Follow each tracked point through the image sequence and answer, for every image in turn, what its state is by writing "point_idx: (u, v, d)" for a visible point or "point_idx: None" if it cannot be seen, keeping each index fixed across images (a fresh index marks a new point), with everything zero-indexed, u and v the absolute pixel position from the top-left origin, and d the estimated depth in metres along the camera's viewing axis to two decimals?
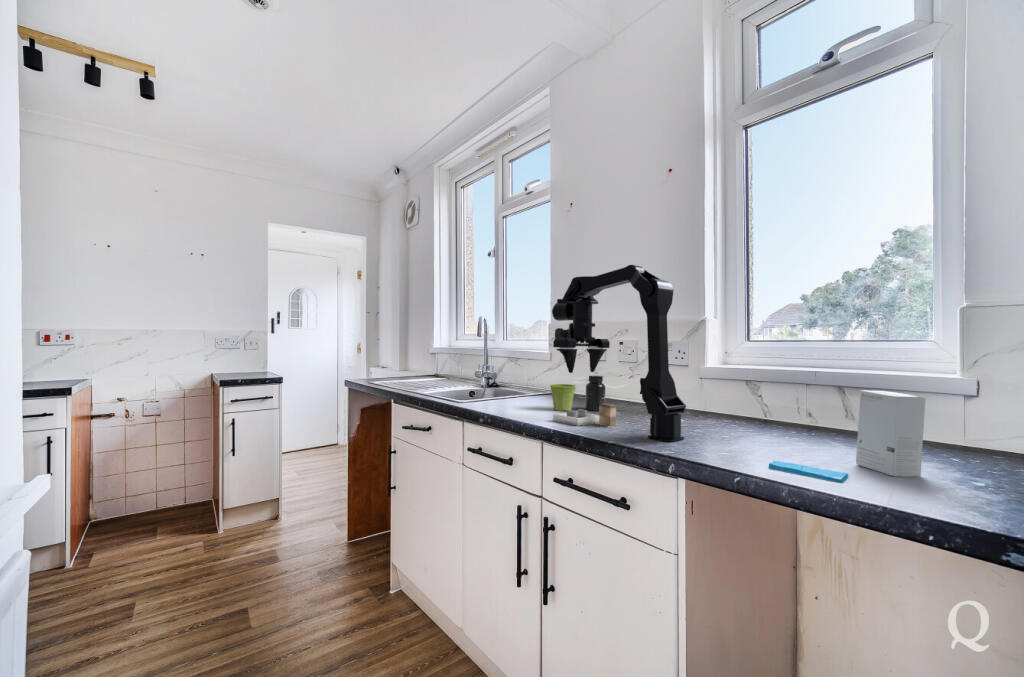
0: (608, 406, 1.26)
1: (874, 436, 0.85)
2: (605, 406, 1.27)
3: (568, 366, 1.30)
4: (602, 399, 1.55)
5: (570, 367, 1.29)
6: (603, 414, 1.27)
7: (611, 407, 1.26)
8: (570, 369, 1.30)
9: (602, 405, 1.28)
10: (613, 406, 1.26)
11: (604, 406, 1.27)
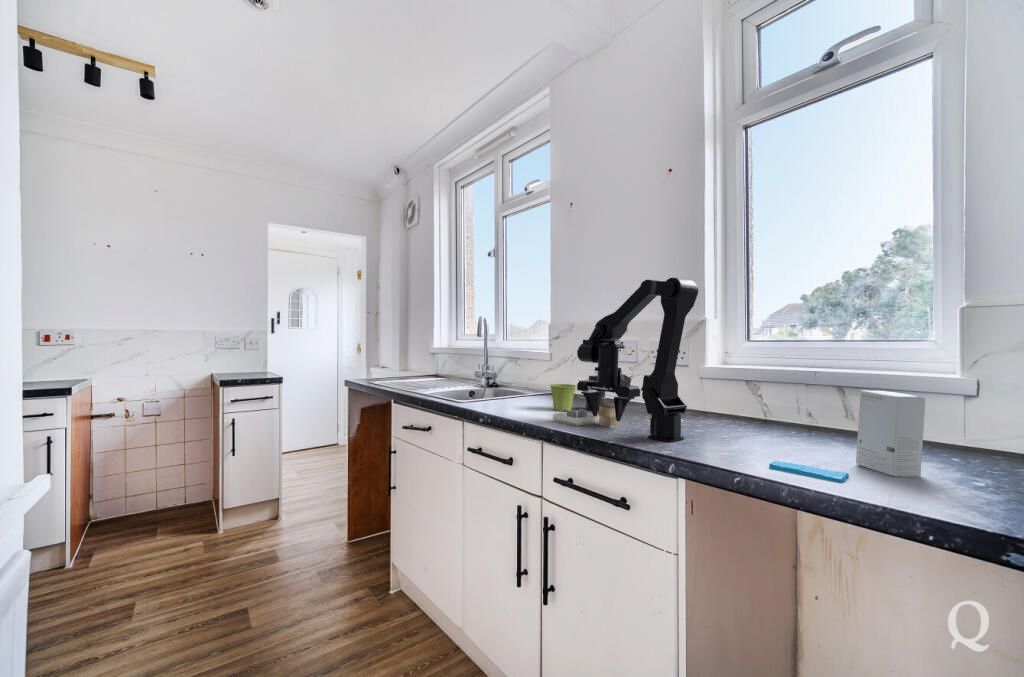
0: (608, 406, 1.26)
1: (874, 436, 0.85)
2: (605, 406, 1.27)
3: None
4: (602, 399, 1.55)
5: None
6: (603, 414, 1.27)
7: (611, 407, 1.26)
8: None
9: (602, 405, 1.28)
10: (613, 406, 1.26)
11: (604, 406, 1.27)
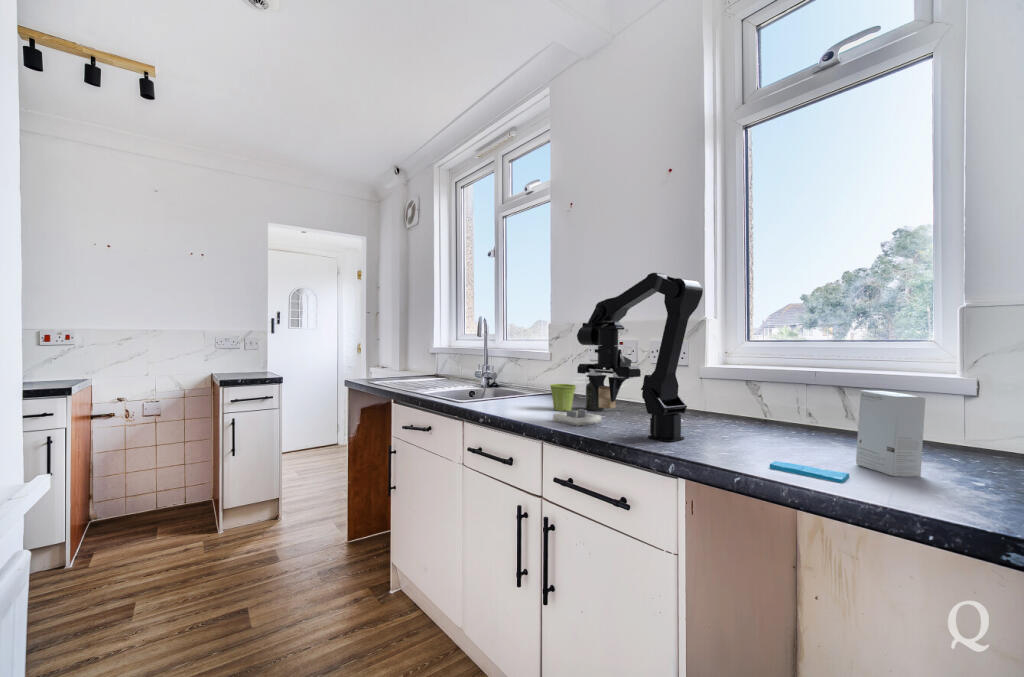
0: (607, 387, 1.26)
1: (874, 436, 0.85)
2: (604, 388, 1.27)
3: None
4: None
5: None
6: (603, 396, 1.27)
7: None
8: None
9: (601, 387, 1.28)
10: None
11: (603, 388, 1.27)
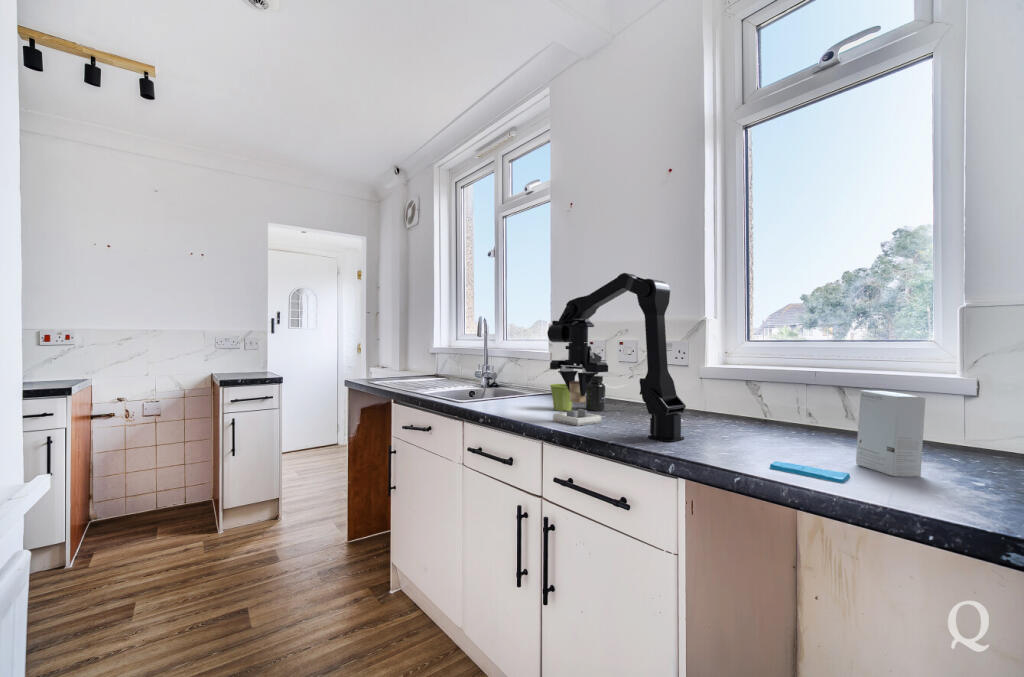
0: (577, 382, 1.31)
1: (874, 436, 0.85)
2: (575, 383, 1.32)
3: None
4: (602, 399, 1.55)
5: None
6: (573, 390, 1.32)
7: None
8: None
9: (572, 382, 1.33)
10: None
11: (574, 383, 1.32)
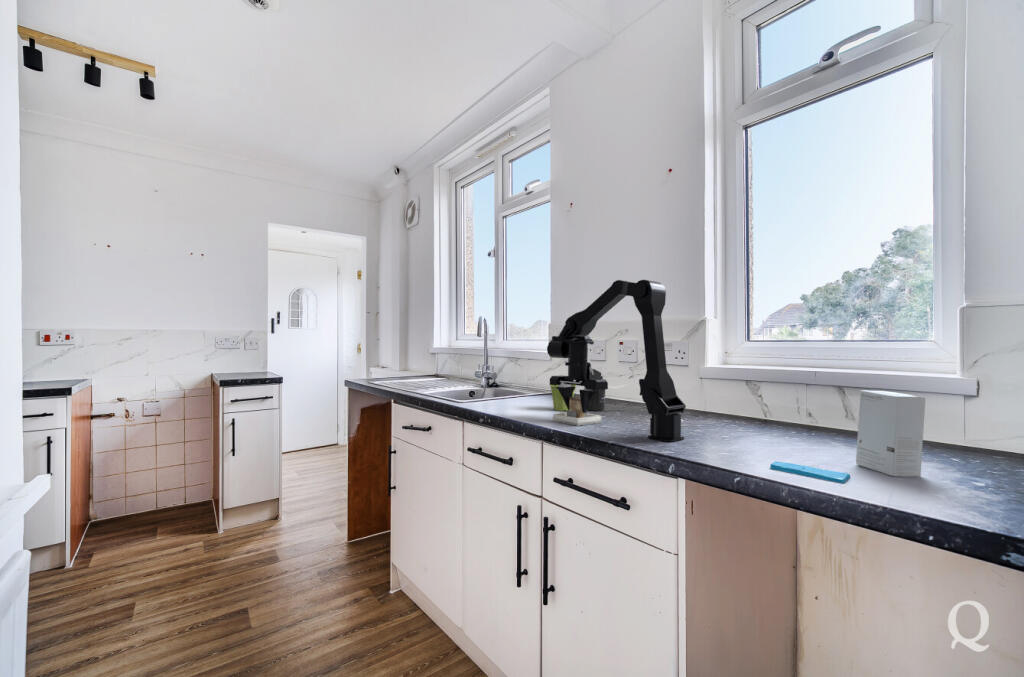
0: (577, 399, 1.31)
1: (874, 436, 0.85)
2: (575, 399, 1.32)
3: None
4: (602, 399, 1.55)
5: None
6: (573, 407, 1.32)
7: (580, 400, 1.31)
8: None
9: (572, 398, 1.33)
10: None
11: (574, 399, 1.32)
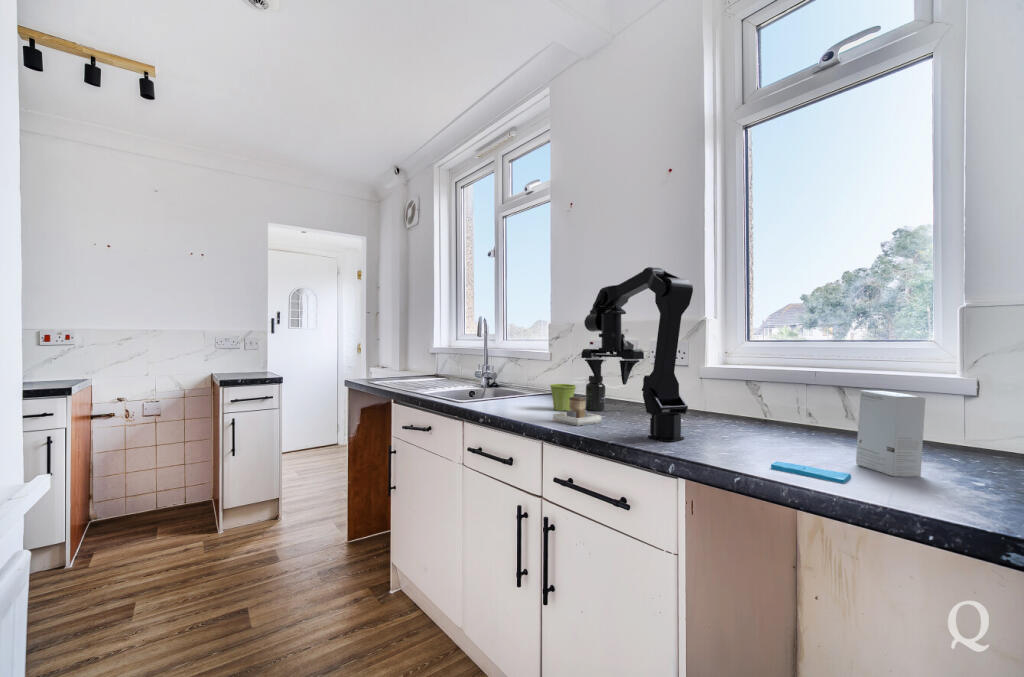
0: (577, 399, 1.31)
1: (874, 436, 0.85)
2: (575, 399, 1.32)
3: None
4: (602, 399, 1.55)
5: None
6: (573, 407, 1.32)
7: (580, 400, 1.31)
8: None
9: (572, 398, 1.33)
10: (582, 399, 1.31)
11: (574, 399, 1.32)
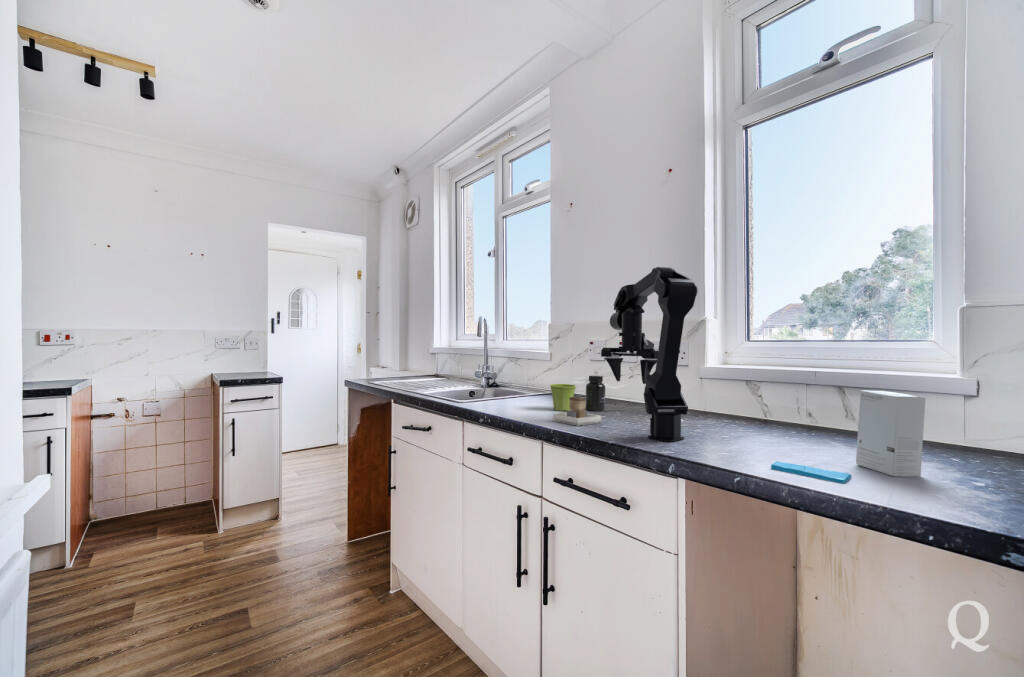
0: (577, 399, 1.31)
1: (874, 436, 0.85)
2: (575, 399, 1.32)
3: None
4: (602, 399, 1.55)
5: None
6: (573, 407, 1.32)
7: (580, 400, 1.31)
8: None
9: (572, 398, 1.33)
10: (582, 399, 1.31)
11: (574, 399, 1.32)
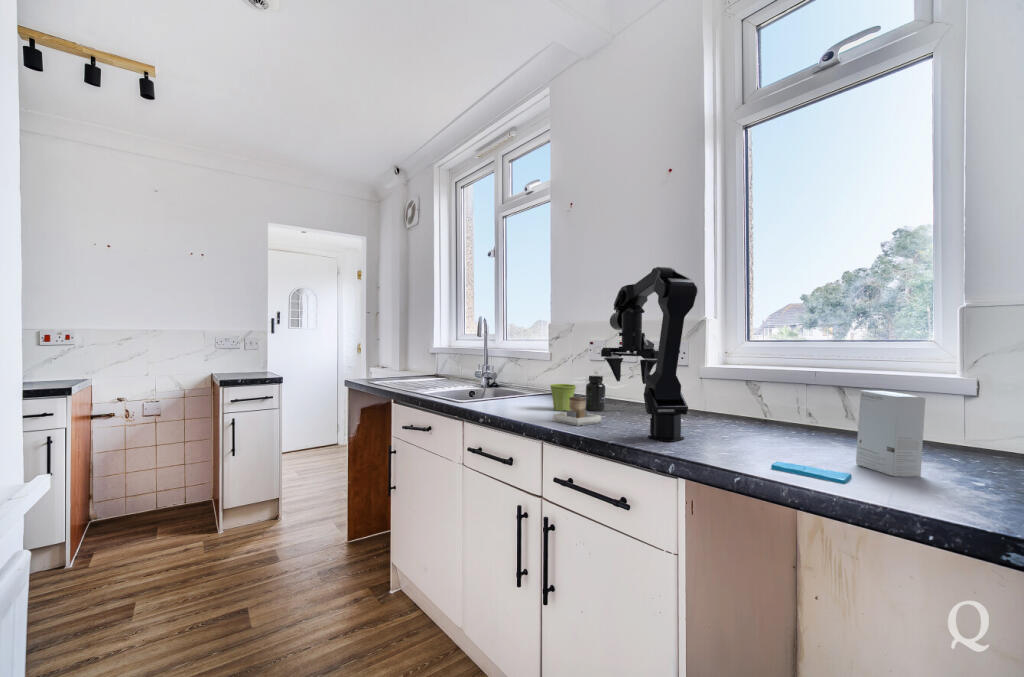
0: (577, 399, 1.31)
1: (874, 436, 0.85)
2: (575, 399, 1.32)
3: None
4: (602, 399, 1.55)
5: None
6: (573, 407, 1.32)
7: (580, 400, 1.31)
8: None
9: (572, 398, 1.33)
10: (582, 399, 1.31)
11: (574, 399, 1.32)
